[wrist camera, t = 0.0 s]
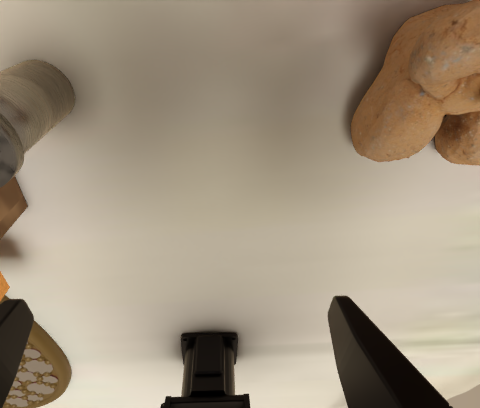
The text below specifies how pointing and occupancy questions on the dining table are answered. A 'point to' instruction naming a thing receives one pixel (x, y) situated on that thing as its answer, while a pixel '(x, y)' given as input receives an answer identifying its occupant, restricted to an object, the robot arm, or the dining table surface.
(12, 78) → the peg
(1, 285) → the bar
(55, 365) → the decorative heart
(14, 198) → the dock block
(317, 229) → the dining table surface
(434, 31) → the figurine
